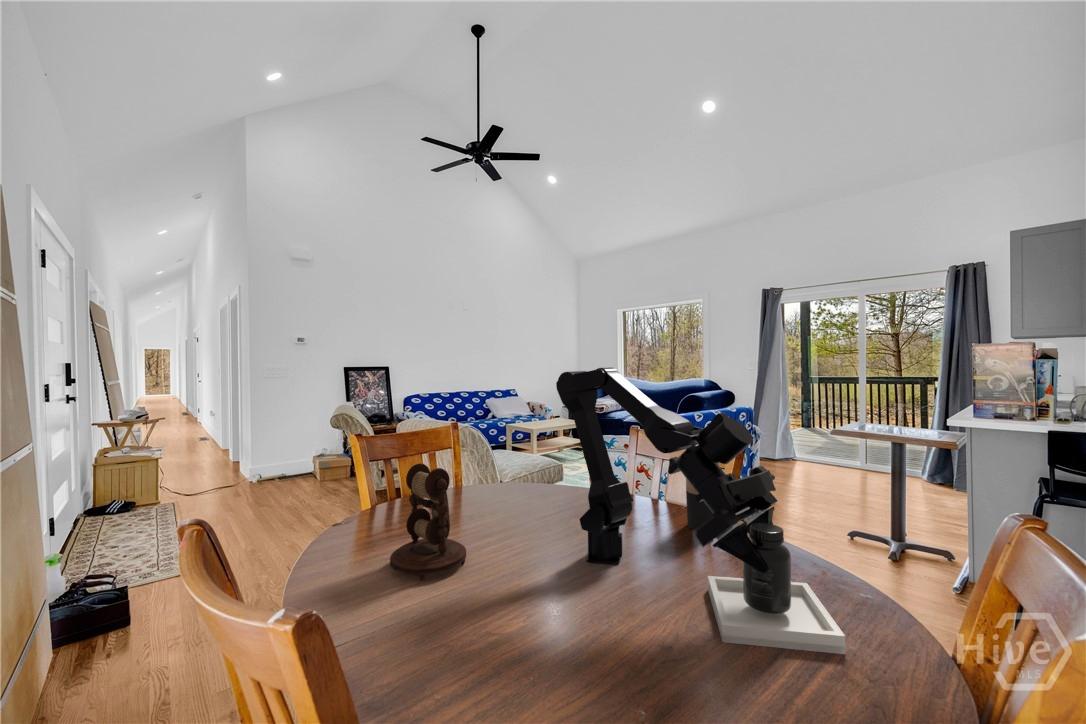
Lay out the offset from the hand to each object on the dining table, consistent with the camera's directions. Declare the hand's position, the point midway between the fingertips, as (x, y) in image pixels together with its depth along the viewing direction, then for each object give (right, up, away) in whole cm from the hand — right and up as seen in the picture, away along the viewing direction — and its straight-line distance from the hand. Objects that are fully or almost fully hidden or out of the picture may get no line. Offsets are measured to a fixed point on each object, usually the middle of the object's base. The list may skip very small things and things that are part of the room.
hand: (775, 564), depth 75 cm
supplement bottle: (-1, -7, +1) cm, 7 cm away
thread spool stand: (-59, -10, +22) cm, 63 cm away
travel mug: (+3, -9, +42) cm, 43 cm away
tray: (-1, -9, +1) cm, 9 cm away
